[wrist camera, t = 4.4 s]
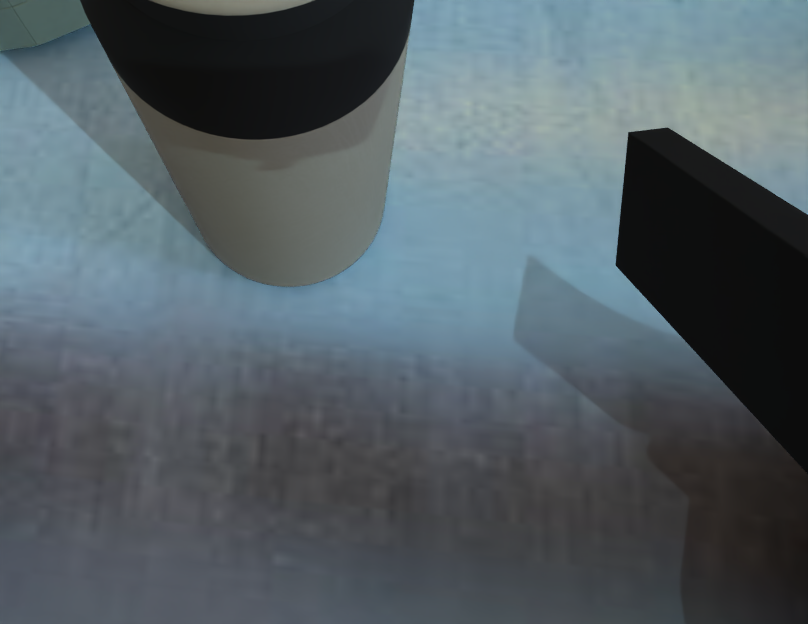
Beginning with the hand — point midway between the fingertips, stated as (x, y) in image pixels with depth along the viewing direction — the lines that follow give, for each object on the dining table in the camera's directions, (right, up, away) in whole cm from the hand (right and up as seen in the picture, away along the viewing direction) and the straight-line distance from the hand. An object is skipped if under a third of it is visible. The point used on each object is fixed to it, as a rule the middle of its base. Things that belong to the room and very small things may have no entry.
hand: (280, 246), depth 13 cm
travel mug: (-3, +4, +19) cm, 19 cm away
